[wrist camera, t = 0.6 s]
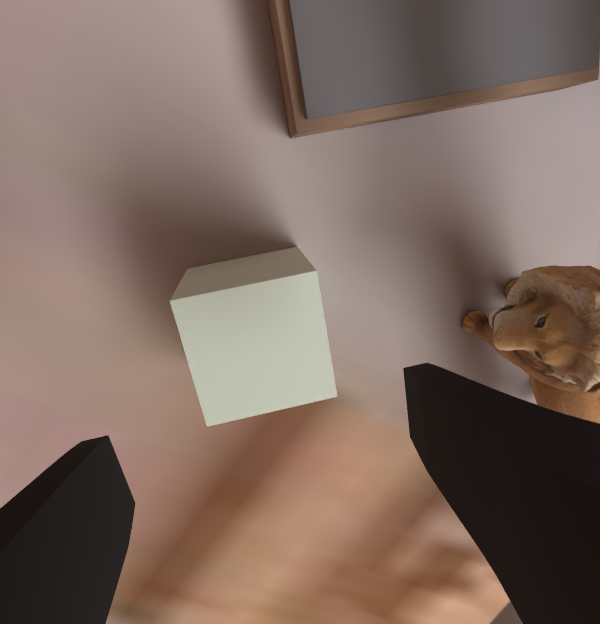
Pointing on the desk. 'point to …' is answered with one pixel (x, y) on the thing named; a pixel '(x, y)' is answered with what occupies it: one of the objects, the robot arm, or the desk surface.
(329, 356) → the sage block
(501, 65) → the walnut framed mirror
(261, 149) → the desk surface
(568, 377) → the lion figurine
